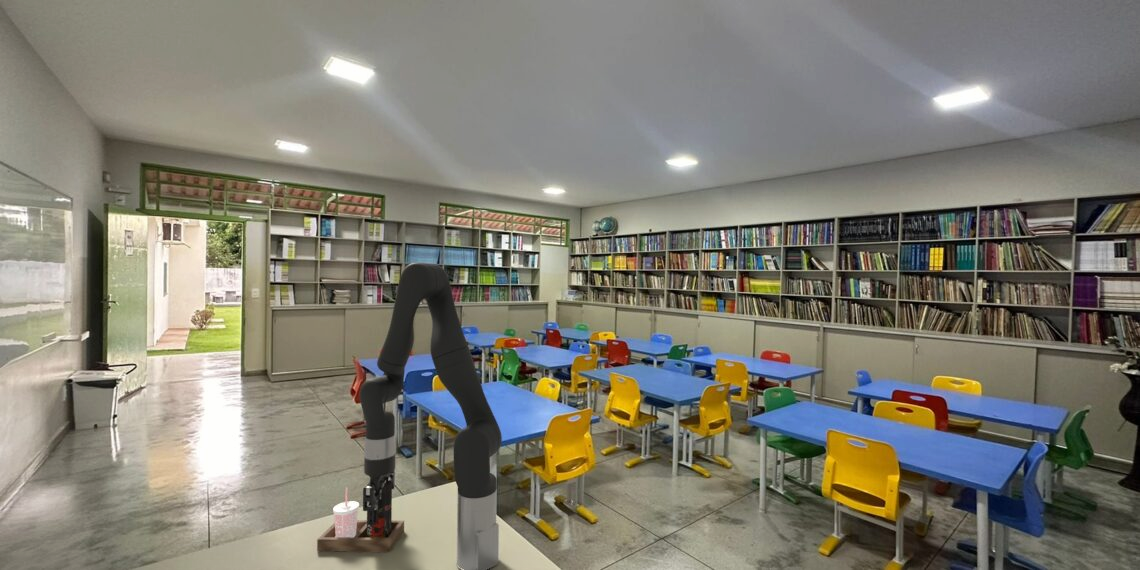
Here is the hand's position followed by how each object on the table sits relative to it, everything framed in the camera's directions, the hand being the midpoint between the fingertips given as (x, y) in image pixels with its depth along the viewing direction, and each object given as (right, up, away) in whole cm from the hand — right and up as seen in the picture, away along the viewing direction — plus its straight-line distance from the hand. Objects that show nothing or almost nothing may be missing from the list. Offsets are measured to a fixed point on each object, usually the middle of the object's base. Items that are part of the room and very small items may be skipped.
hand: (379, 516), depth 117 cm
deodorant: (0, -7, 0) cm, 7 cm away
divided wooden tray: (-4, -6, 0) cm, 8 cm away
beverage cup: (-9, -7, 0) cm, 11 cm away
